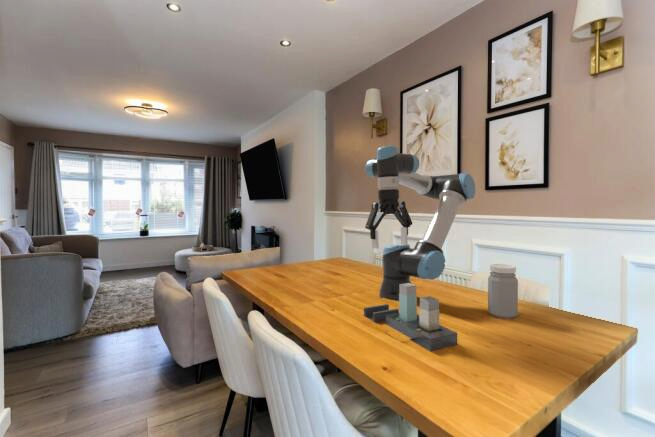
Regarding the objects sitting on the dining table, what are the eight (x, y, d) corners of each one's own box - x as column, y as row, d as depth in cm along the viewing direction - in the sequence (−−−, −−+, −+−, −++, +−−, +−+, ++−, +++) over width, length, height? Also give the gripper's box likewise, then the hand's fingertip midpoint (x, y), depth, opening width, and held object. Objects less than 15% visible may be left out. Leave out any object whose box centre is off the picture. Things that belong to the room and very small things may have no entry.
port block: (408, 320, 112) (408, 285, 112) (457, 344, 92) (457, 301, 92) (384, 325, 108) (384, 288, 108) (430, 351, 88) (430, 306, 87)
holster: (386, 313, 120) (386, 303, 120) (399, 319, 113) (399, 309, 113) (363, 317, 116) (363, 307, 116) (375, 324, 109) (375, 313, 109)
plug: (409, 324, 107) (408, 282, 107) (416, 328, 103) (416, 285, 103) (399, 326, 106) (399, 284, 105) (406, 330, 102) (406, 286, 101)
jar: (520, 314, 117) (521, 265, 116) (514, 321, 110) (514, 269, 109) (492, 308, 124) (492, 262, 123) (483, 315, 117) (484, 266, 116)
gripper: (366, 189, 109) (368, 251, 110) (421, 187, 120) (422, 243, 121) (354, 190, 115) (356, 248, 116) (407, 188, 127) (408, 241, 128)
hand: (390, 246), depth 119 cm, fingers open, 13 cm apart
